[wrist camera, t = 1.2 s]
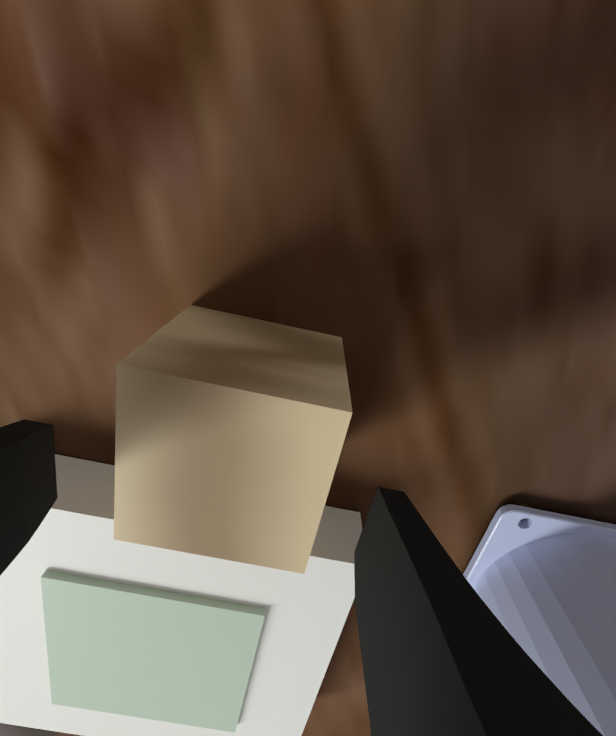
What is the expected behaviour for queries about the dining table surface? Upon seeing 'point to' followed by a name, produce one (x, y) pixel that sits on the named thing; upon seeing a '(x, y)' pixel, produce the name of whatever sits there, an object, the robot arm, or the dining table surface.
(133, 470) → the birch block
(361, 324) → the dining table surface
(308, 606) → the base plinth
